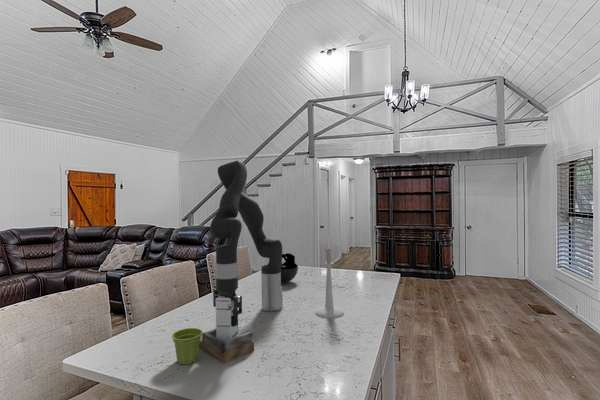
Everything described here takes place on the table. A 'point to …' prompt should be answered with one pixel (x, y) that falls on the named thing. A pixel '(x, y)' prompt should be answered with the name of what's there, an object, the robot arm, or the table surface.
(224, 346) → the dock
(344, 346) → the table surface
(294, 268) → the bowl of black rocks
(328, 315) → the candlestick
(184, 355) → the plant pot
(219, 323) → the syrup box
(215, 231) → the robot arm
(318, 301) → the table surface
